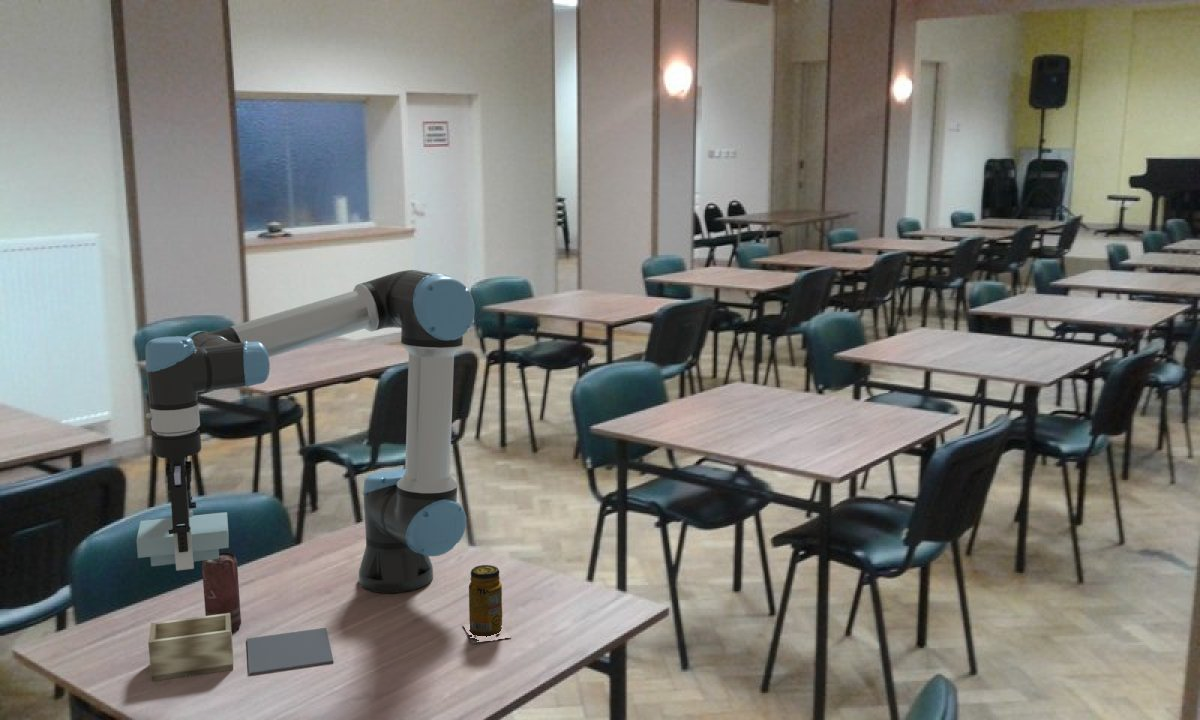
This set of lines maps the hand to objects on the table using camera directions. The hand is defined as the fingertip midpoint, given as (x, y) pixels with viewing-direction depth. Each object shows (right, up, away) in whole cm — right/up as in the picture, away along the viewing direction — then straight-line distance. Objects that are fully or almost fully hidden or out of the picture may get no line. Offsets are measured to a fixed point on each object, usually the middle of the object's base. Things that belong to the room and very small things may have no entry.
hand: (186, 557), depth 184 cm
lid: (0, +3, -1) cm, 3 cm away
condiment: (+49, -17, +16) cm, 55 cm away
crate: (0, -19, +4) cm, 20 cm away
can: (0, -17, +18) cm, 25 cm away
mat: (+15, -18, +9) cm, 25 cm away
